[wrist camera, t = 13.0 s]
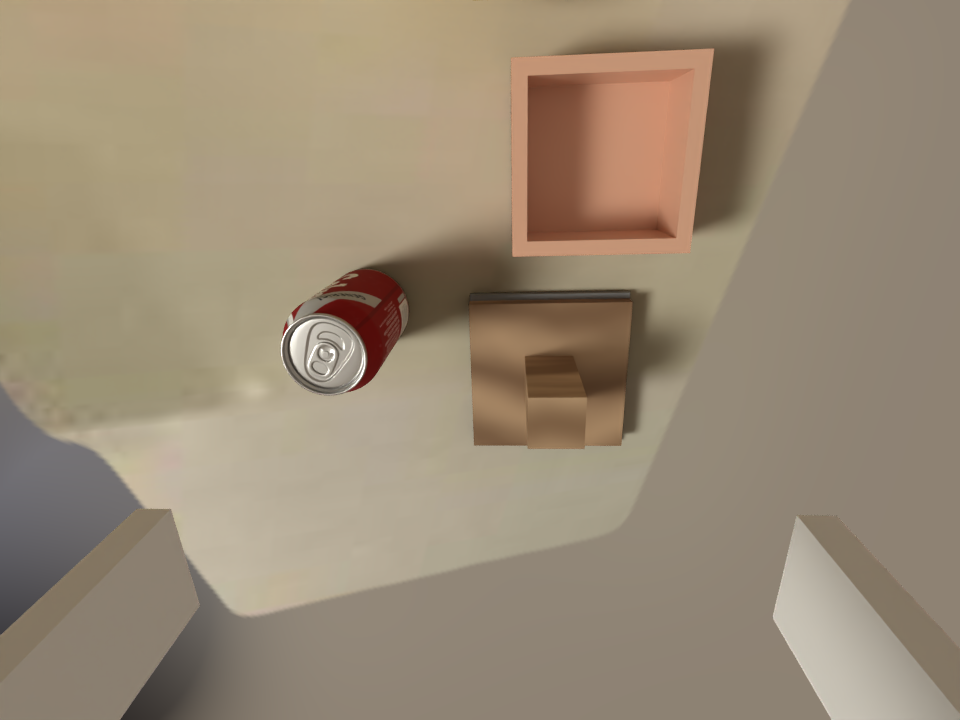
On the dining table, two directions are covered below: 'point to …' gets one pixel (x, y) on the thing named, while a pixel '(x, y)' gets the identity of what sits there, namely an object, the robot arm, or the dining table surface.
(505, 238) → the dining table surface
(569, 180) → the pink open box
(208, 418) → the dining table surface
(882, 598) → the robot arm
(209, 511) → the dining table surface
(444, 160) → the dining table surface
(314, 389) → the soda can
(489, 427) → the lid
